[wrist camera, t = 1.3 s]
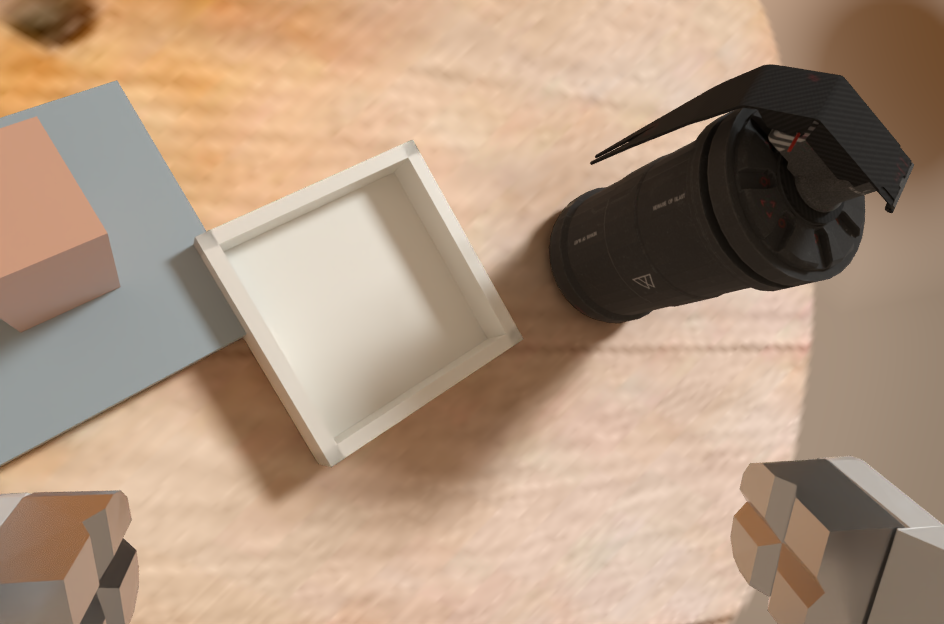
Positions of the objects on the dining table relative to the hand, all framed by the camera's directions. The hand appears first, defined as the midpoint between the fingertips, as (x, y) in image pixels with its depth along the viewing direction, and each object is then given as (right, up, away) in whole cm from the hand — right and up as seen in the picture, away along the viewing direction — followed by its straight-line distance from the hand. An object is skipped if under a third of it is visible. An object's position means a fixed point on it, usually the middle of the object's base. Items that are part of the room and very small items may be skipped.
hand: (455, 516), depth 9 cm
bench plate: (-20, +5, +23) cm, 31 cm away
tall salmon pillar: (-19, +5, +22) cm, 30 cm away
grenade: (+8, +7, +37) cm, 39 cm away
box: (-6, +3, +30) cm, 30 cm away
